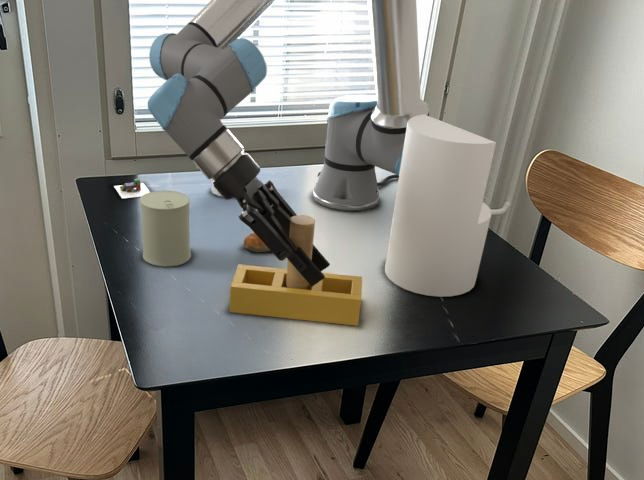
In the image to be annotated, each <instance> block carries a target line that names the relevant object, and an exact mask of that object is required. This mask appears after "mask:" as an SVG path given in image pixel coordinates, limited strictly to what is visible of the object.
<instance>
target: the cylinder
mask: <svg viewBox="0 0 644 480" xmlns="http://www.w3.org/2000/svg"><path fill="white" fill-rule="evenodd" d="M496 144H497V142H496V141H493V140H491V139H489V138H487V137H483V136H481V135H478V134H475V133H473V132H471V131H468V130H465V129H463V128H460V127H458V126H455V125H454V124H451V123H447V122H445V121H443V120H440V119H437V118H435V117H432V116H430V115H429V116H427V115H425V114H423V115H419V116H415V117H413V118H410V119H409V121H408V122H407V128H406V135H405V141H404V148H403V154H402V161H401V167H400V174H399V178H398V182H397V188H396V194H395V201H394V207H393V213H392V219H391V225H390V234H389V238H388V246H387V251H386V258H385V265H384V273H385V275H386V276H387V278H388V280H390V281H391V282H392V283H393V284H395V285H396V286H398V287H399V288H402V289H403V290H406V291H409V292H412V293H415V294H419V295H424V296H430V297H438V298H439V297H440V298H443V297H454V296H460V295H463V294H466V293H468V292H470V291H471V290H472V289H473V288H474V287H475V285H476V282H477V278H478V274H479V269H480V266H481V262H482V257H483V253H484V249H485V248H484V247H485V244H486V240H487V235H488V231H489V228H490V222H491V218H492V215H493V211H492V209H491V208H490V207H489V206H488V205H487V204H486V203H485V202H484V198H485V194H486V190H487V184H488V180H489V177H490V172H491V168H492V163H493V158H494V153H495V151H496Z"/></svg>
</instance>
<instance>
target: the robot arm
mask: <svg viewBox="0 0 644 480" xmlns="http://www.w3.org/2000/svg"><path fill="white" fill-rule="evenodd" d="M275 2H277V0H209V2H208V3H207V4H206V5H205V6H204V7H203V8H201V10H200V11H199V12H198V13H197V14H196V15H195V16H194V17H193V18H192V19H191V20H190V21H189V22H188V23H187V24H186V25H185V26H183V28H182V29H181V30H179V31H178V32H177V33H173V32H171V33H168V32H167V33H163V34H160V35H158V36H157V37H156V38H155V39H154V40H153V42H152V43H151V46H150V48H149V53H148V54H149V57H148V58H149V64H150V68H151V69H152V71H153V72H154V74H155V75H156V76H158V77H159V78H161V79H162V80H164V81H165V82H163V83H162V84H161V85H160V86H159V87H158V88H157V89H156V90H155V91H154V92H153V93H152V95H151V96H150V97H149V99H148V101H147V109H148V111H149V113H150V114H151V115H152V117H153V119H155V121H156V122H157V123H158V125H159V126H160V127H161V130H163V131H165V133H167V135H168V136H169V137H170V138H171V139H172V140H173V141H174V142H175V143H176V145H178V147H179V148H180V149H181V150H182V151H183V152H184V154H185V155H186V156H187V157H188V159H190V160H191V161H192V163H193V164H194V165H195V168H196V170H198V171H200V172H201V174H203V176H204V177H205V178H206V179H207V180H211V179H213V180H214V182H213V186H214V187H215V188H216V189H217V191H218V192H219V193H220V194H221V195H222V196H223V197H222V196H221V197H222V198H223V199H224V200H227V201H228V200H231V199H232V198H234V199H235V200H236V201H237V203H238V205H239V207H240V208H241V209H242V212H241V213H239V214H238V218H239V220H240V221H241V222H242V223H244V224H245V225H246V226H247V227H249V228H250V230H251V231H252V233H253V232H254V233H255V234H256V235H257V236H258V237H259V238H260V239H261V241H262V242H263V243H264V244H265V245H266V246H267V247H268V248H269V249H270V251H269V252H271V253H272V254H273V255H274V256H275V258H276V259H278V260H279V261H281V262H283V261H284V260H286V259H287V261H288V260H289V261H290V262H291V263H292V264H293V266H294V267H295V268H296V269H297V270H298V271H299V273H300V274H301V275H302V276H303V277H304V278H305V279H306V281H307V282H308V283H309V284H310V285H311V286H314V285H315V284H317V283H318V282H320V281H321V280H323V279H324V278H325V276H324V275H323V273H324V272H323V271H324V270H326V269H328V267H330V265H331V263H330V262H329V260H327V259H326V257H325V256H324V255H323V254H322V253H321V251H319V249H318V247H316V246H315V244H313V250H312V261H311V259H310V258H309V257H308V256H307V255H306V254H305V252H304V251H303V250H302V249H301V248H300V247H299V248H297V247H296V246H295V244H294V243H293V242H292V240H291V239H290V238H289V232H290V219H291V217H293V216H296V215H297V213H296V211H294V210H293V209H292V207H291V206H290V204H288V202H287V201H286V200H285V198H284V197H283V196H282V195H281V193H280V192H279V191H278V189H277V188H276V186H275V185H274V183H273V182H272V181H271V180H267V181H266V182H265V183H264V182H263V181H262V180H260V179H259V178H258V177H257V176H258V175H259V174H260V172H261V167H260V165H259V164H258V163H257V162H256V161H255V160H254V159H253V157H252V156H251V155H250V153H247V152H244V153H243V152H242V150H243V149H244V146H243V145H242V144H241V142H240V141H239V140H238V139H237V137H236V136H235V135H234V134H233V133H232V132H231V130H229V129H228V127H227V126H226V125H225V124H224V123H223V122H222V119H223V118H224V117H226V116H227V115H228V113H230V112H231V111H232V110H234V109H235V107H236V106H237V105H239V104H240V103H241V102H242V101H244V100H245V99H246V98H247V97H248V96H249V95H251V94H252V93H254V92H255V89H256V88H257V87H258V86H259V85H260V84H261V83H262V82H263V81H264V80H265V79H266V77H267V74H268V65H267V62H266V60H265V57H264V54H263V53H262V52H261V50H260V49H259V48H258V46H256V44H254V43H253V42H252V41H250V40H249V39H247V38H244V37H242V36H243V35H244V34H245V33H246V32H247V31H248V30H249V29H250V28H251V27H252V26H253V25H254V24H255V23H256V22H257V21H258V20H259V19H260V18H261V17H262V16H263V15H264V14H265V13H266V12H267V11H268V10H269V8H271V6H273V5H274V3H275ZM367 8H368V19H369V28H370V39H371V40H370V41H371V51H372V61H373V63H372V64H373V73H374V83H375V84H374V85H375V94H376V95H371V94H370V95H368V94H356V95H355V94H352V95H351V94H350V95H344V96H338V97H336V98H334V99H332V101H331V102H330V104H329V108H328V116H327V118H326V120H327V121H326V131H325V132H326V133H325V148H324V160H323V164H322V165H323V166H322V169H321V171H319V172H318V173H317V181H316V183H315V184H314V187H313V194H312V197H313V199H314V201H315V202H316V203H318V205H321V206H323V207H326V208H329V209H332V210H336V211H343V212H360V211H366V210H370V209H373V208H375V207H376V206H377V205H378V204H379V199H380V190H379V188H378V187H382V186H384V185H385V184H386V183H387V182H388V181H389V180H392V179H399V174H400V167H401V161H402V154H403V148H404V141H405V135H406V128H407V122H408V121H409V119H410V118H413V117H415V116H419V115H423V114H425V115H427V116H430V107H429V104H428V103H427V102H426V101H424V100H423V99H422V98H421V96H422V95H421V78H420V77H421V76H420V75H421V74H420V73H421V72H420V55H419V53H420V52H419V33H418V32H419V31H418V11H417V10H418V9H417V0H367ZM376 168H379V169H381V170H384V171H387V172H389V173H391V175H388V176H386V177H385V178H384V179H383V180H381V181H379V182H378V179H377V175H376Z"/></svg>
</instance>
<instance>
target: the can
mask: <svg viewBox="0 0 644 480" xmlns="http://www.w3.org/2000/svg"><path fill="white" fill-rule="evenodd" d="M190 201H191V200H190V197H189V196H188V195H187V194H186V193H183V192H180V191H177V190H169V189H168V190H163V189H162V190H153V191H150V192H149V193H146V194H144V195H143V196H141V197H140V198H139V203H140V215H141V230H142V231H141V232H142V258H143V260H144V261H145V262H146V263H147V264H150V265H153V266H156V267H164V268H165V267H177V266H181V265H184V264H185V263H187V262H189V260H191V257H192V252H191V236H190V235H191V232H190V203H191V202H190Z"/></svg>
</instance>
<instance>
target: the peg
mask: <svg viewBox="0 0 644 480" xmlns="http://www.w3.org/2000/svg"><path fill="white" fill-rule="evenodd" d="M315 227H316V219H315V218H314V217H312V216H310V215H306V214H296V216H293V217H291V219H290V232H289V238H290V239H291V240H292V242H293V243H294V244H295V246H296V247H297V248H299V247H300V248H301V249H302V250H303V251H304V252H305V254H306V255H307V256H308V257H309V258H310V259H311V261H312V250H313V245H314V238H315ZM286 269H287V277H286V288H295V289H305V290H309V283H308V282H307V281H306V279H305V278H304V277H303V276H302V275H301V274H300V273H299V271H298V270H297V269H296V268H295V267H294V266H293V264H292V263H291V262H290V261H289V260H288V259H287V263H286Z"/></svg>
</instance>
